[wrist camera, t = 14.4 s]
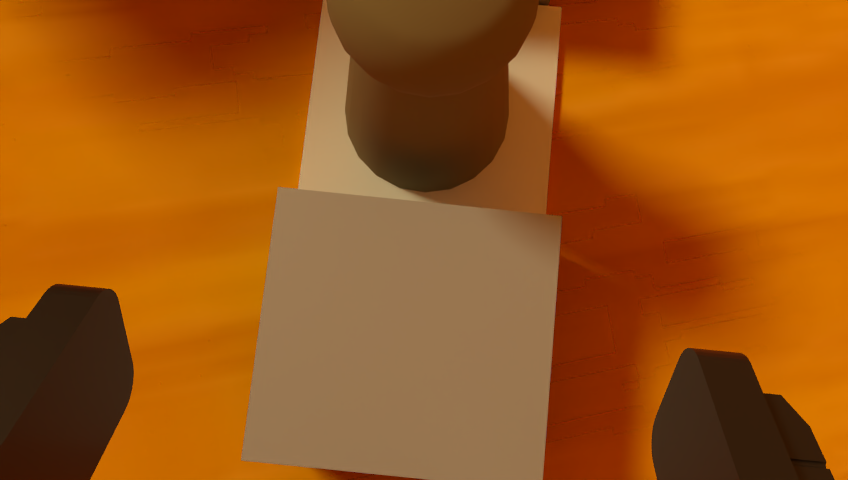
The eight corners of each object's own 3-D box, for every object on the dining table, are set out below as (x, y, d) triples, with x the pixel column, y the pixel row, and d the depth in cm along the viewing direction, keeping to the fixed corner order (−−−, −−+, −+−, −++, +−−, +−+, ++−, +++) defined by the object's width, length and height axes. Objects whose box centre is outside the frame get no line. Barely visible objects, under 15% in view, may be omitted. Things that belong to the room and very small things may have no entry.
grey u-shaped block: (524, 467, 25) (548, 491, 21) (266, 440, 25) (233, 459, 21) (574, -179, 29) (604, -278, 24) (350, -202, 29) (338, -304, 25)
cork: (509, 37, 27) (571, -172, 16) (508, 194, 26) (572, 84, 15) (348, 32, 27) (303, -180, 16) (341, 189, 26) (288, 75, 15)
